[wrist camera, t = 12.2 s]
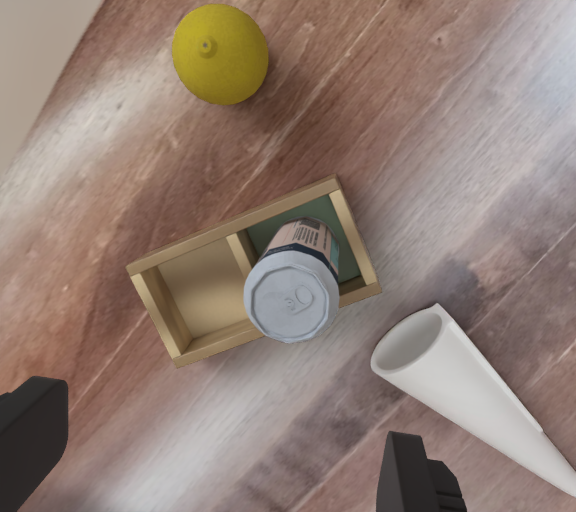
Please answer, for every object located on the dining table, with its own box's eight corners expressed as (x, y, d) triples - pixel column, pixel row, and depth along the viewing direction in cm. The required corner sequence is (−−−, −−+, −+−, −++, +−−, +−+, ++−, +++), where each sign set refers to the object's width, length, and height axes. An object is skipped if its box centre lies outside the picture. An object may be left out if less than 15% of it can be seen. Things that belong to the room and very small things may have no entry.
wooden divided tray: (144, 254, 38) (124, 266, 34) (335, 172, 35) (335, 177, 32) (191, 348, 39) (176, 369, 36) (378, 277, 36) (382, 292, 33)
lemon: (280, 103, 34) (263, 94, 27) (200, 112, 35) (161, 106, 27) (271, 15, 33) (250, -21, 25) (189, 25, 34) (144, -6, 26)
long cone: (506, 510, 42) (363, 349, 38) (571, 465, 41) (431, 295, 37) (543, 569, 36) (380, 389, 32) (619, 519, 36) (462, 326, 31)
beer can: (258, 238, 36) (220, 289, 24) (315, 201, 35) (303, 236, 23) (295, 293, 37) (276, 368, 25) (352, 258, 36) (358, 320, 24)
